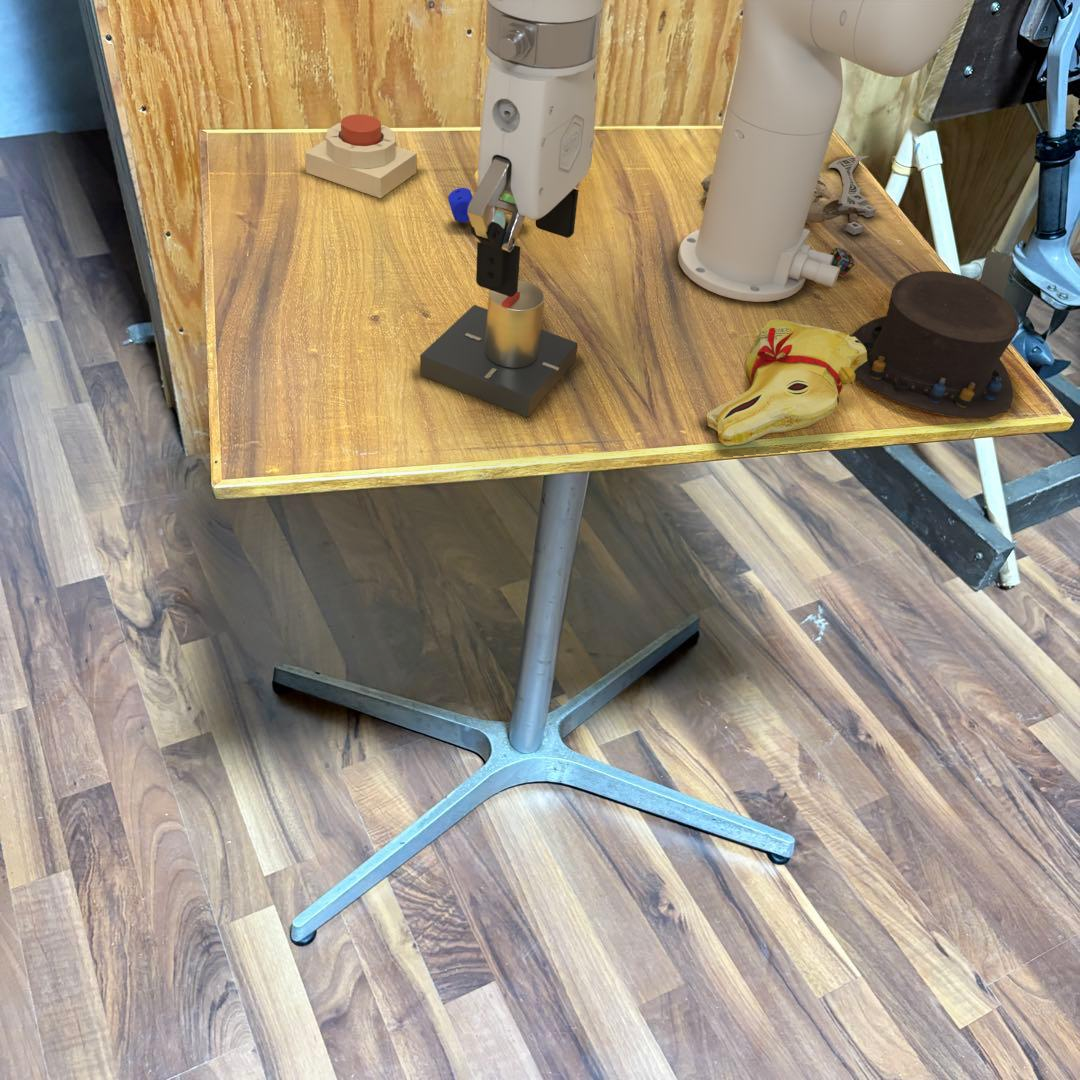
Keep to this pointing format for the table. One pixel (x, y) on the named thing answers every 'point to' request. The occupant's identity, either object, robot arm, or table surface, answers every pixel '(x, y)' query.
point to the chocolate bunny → (789, 381)
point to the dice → (462, 198)
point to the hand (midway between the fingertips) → (526, 259)
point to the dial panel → (495, 365)
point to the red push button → (360, 130)
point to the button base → (362, 162)
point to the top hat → (944, 343)
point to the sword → (852, 193)
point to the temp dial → (514, 326)
